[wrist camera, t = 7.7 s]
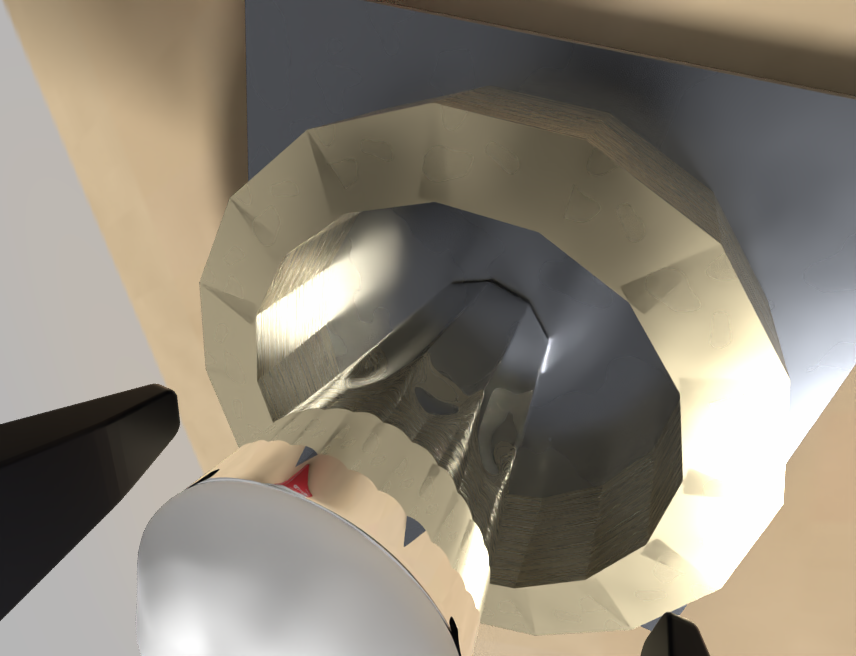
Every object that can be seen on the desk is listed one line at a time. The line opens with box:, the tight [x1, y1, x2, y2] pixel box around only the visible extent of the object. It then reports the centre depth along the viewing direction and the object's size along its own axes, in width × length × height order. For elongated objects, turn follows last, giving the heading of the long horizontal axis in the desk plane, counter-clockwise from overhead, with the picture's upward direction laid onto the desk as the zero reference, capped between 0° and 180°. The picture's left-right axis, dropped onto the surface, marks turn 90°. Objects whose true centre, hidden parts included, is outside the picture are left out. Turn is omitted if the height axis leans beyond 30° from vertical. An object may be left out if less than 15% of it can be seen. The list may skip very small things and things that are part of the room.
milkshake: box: [136, 282, 548, 656], centre depth 10 cm, size 4×5×10 cm
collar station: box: [199, 0, 856, 636], centre depth 13 cm, size 14×14×4 cm
